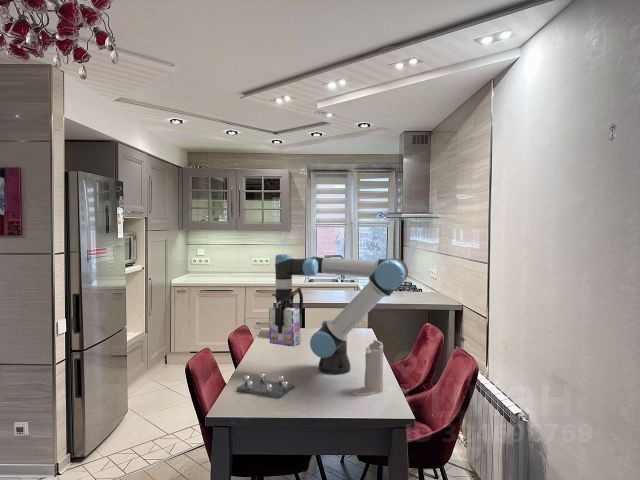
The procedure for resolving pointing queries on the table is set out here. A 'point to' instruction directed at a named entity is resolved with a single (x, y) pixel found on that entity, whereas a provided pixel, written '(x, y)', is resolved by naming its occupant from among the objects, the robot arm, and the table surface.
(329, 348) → the robot arm
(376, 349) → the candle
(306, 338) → the table surface
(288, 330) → the candy box
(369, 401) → the table surface
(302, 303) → the jug
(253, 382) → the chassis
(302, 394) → the table surface
